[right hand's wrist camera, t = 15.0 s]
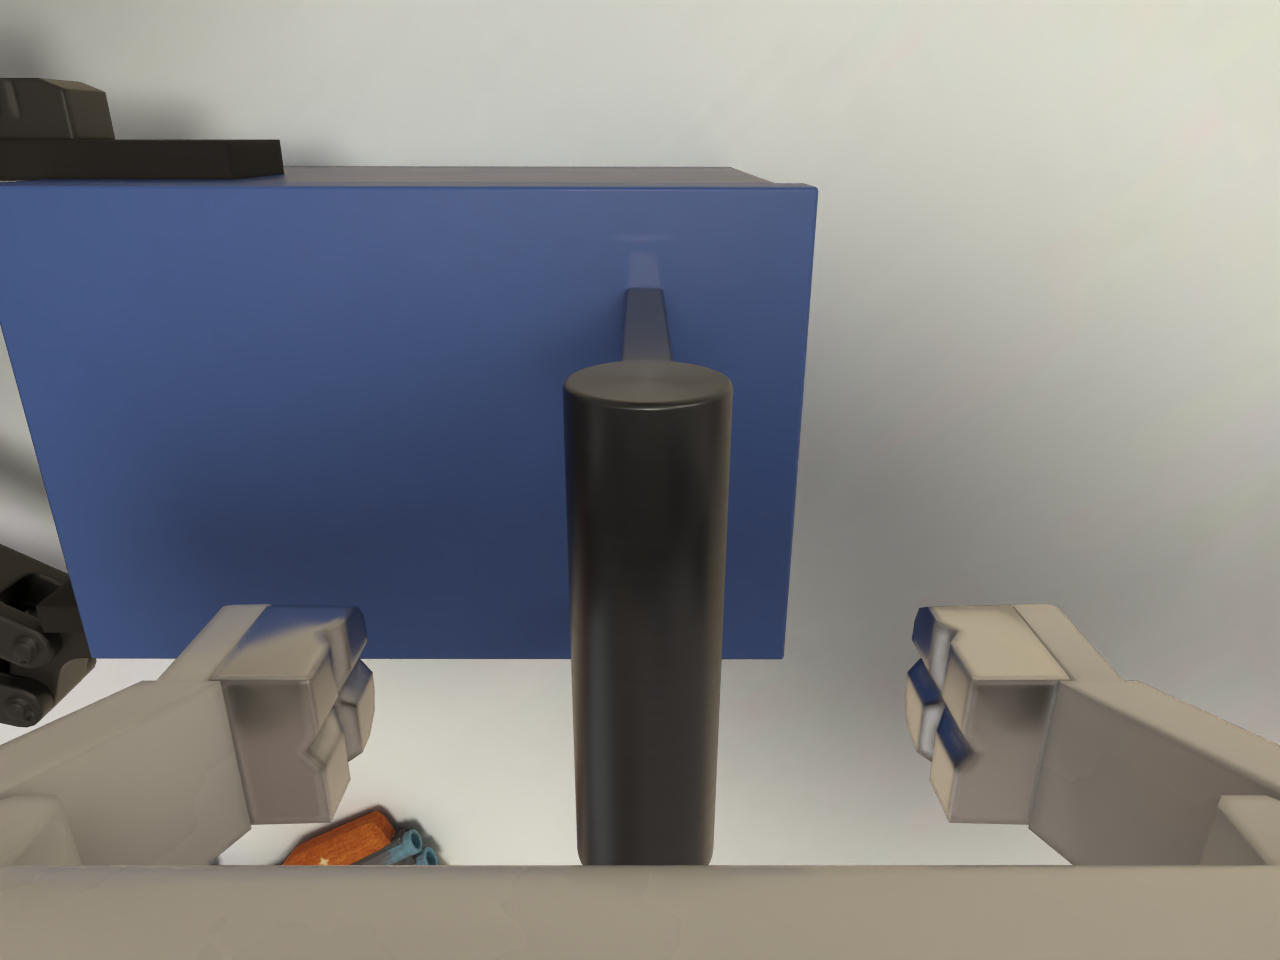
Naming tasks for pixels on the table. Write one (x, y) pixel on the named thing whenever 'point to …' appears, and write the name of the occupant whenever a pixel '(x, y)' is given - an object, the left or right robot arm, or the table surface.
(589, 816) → the lid
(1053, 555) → the table surface
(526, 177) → the chest
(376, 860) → the toy gun
